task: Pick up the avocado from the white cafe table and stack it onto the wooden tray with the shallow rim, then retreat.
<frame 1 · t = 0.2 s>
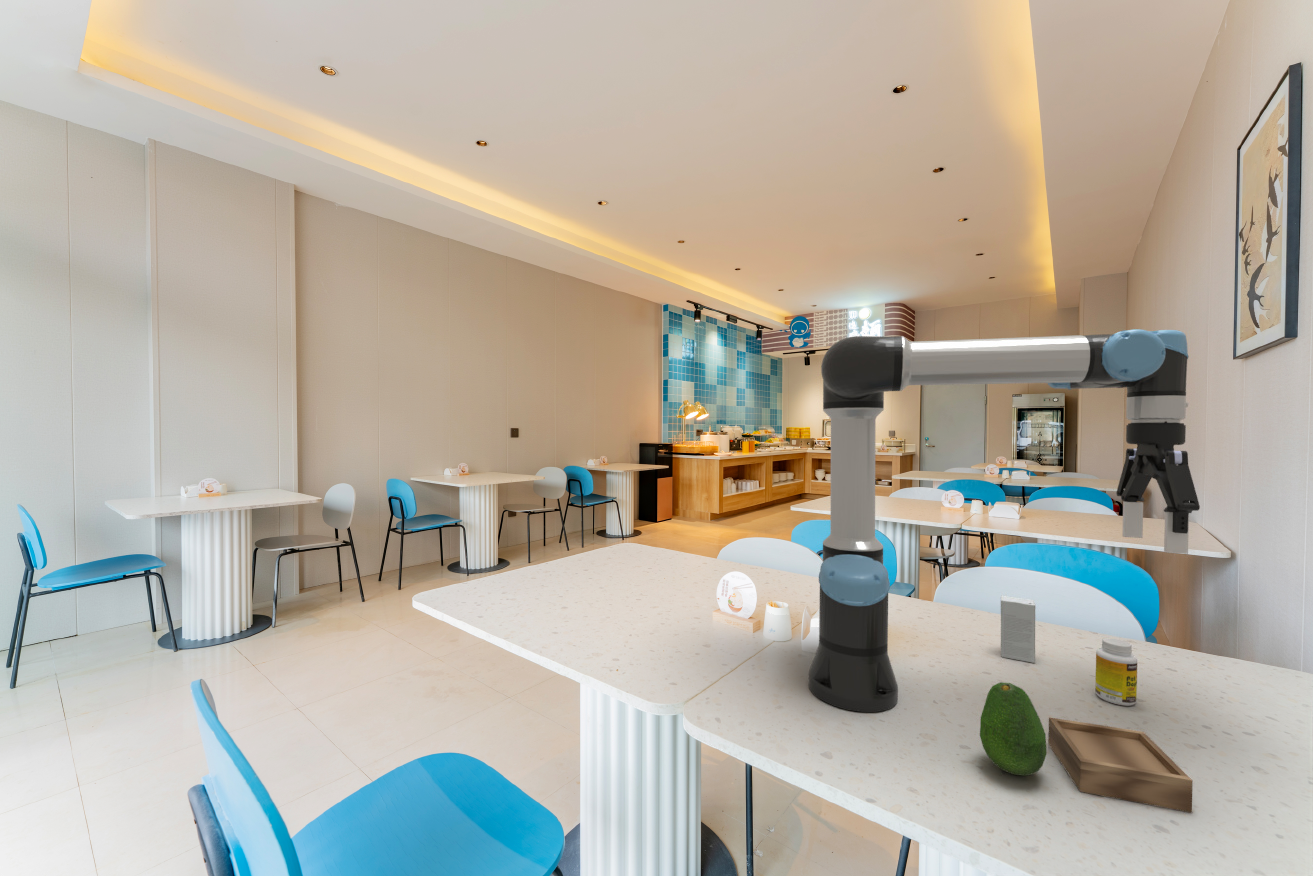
hand: (1152, 544, 93), 28 cm above the table, fingers open, 13 cm apart
wooden tray: (1113, 774, 74), on the table
supplement bottle: (1115, 700, 95), on the table
skincare box: (1016, 657, 113), on the table
avocado: (1011, 773, 74), on the table
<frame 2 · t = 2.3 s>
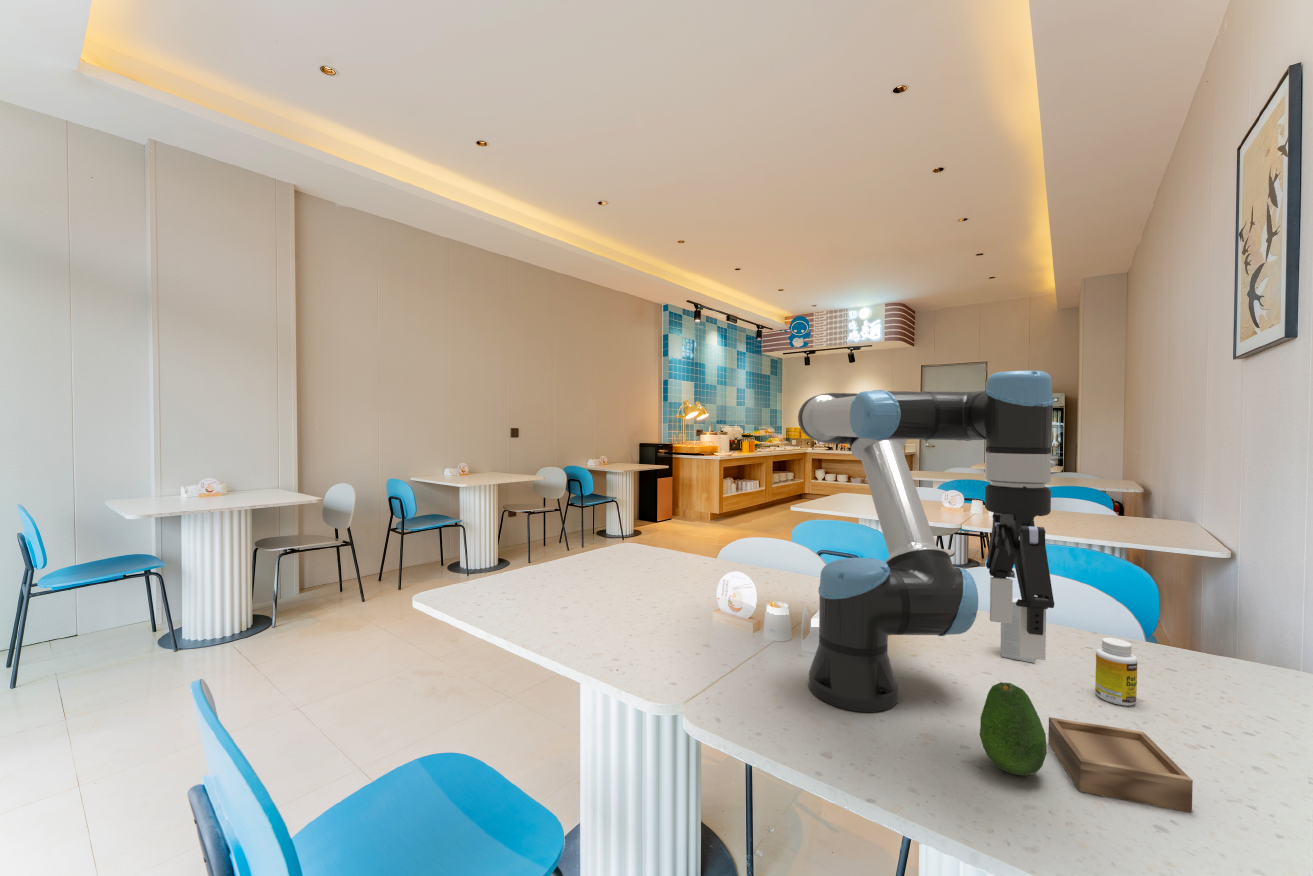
hand: (1014, 638, 74), 19 cm above the table, fingers open, 13 cm apart
nothing on the table moved.
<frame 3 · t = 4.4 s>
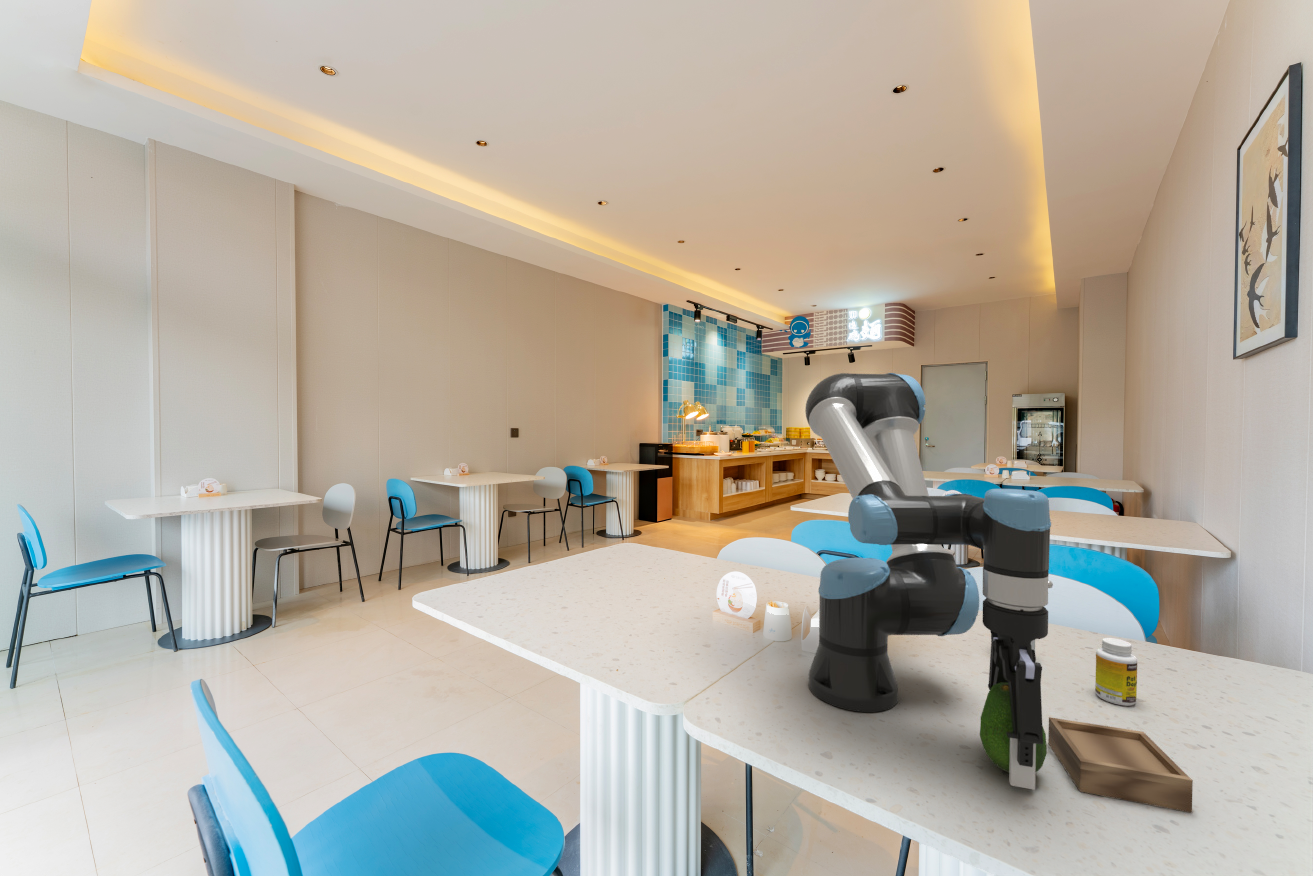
hand: (1012, 766, 74), 1 cm above the table, fingers closed on avocado, 8 cm apart
avocado: (1011, 773, 74), on the table, touching gripper
everything else where it was.
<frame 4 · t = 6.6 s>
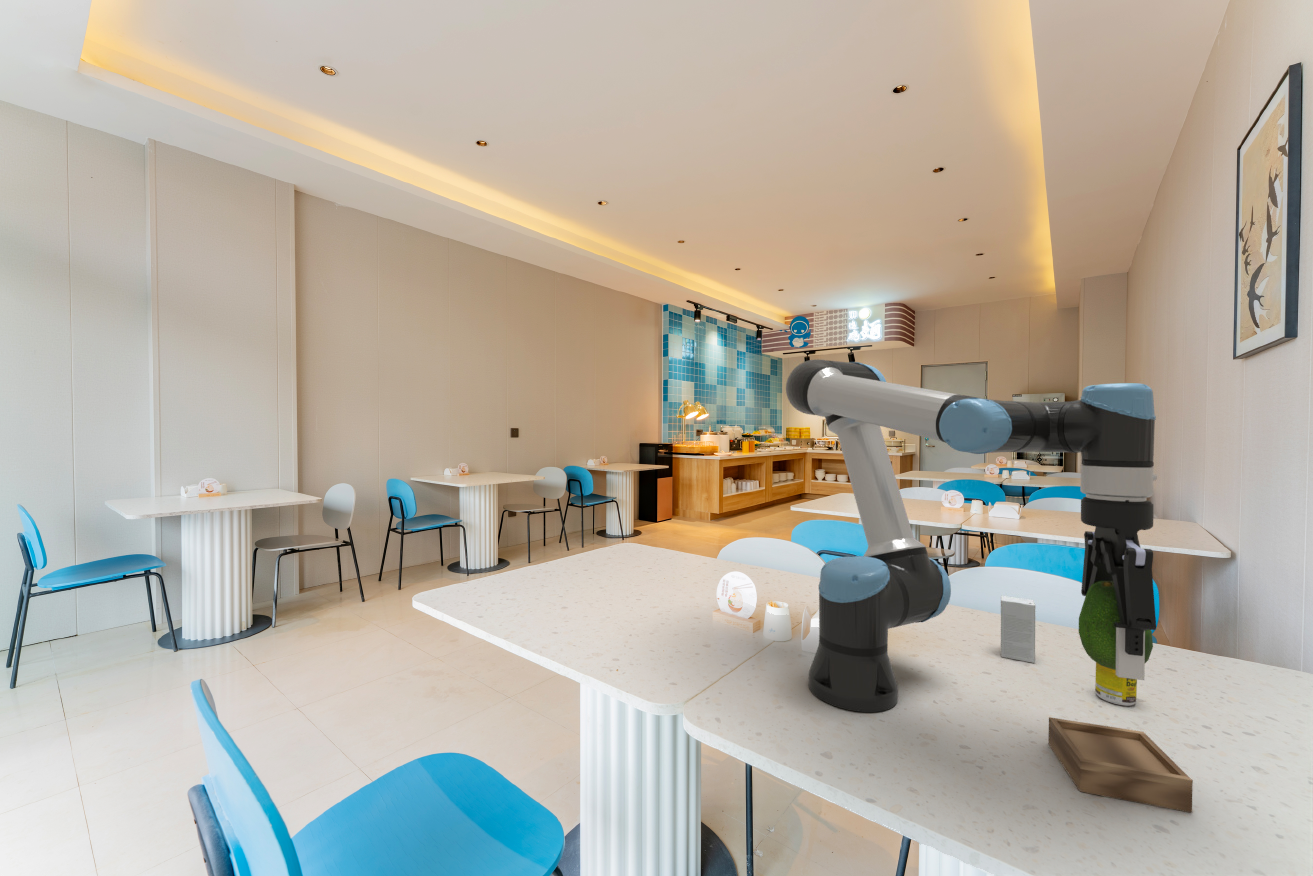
hand: (1114, 663, 73), 15 cm above the table, fingers closed on avocado, 8 cm apart
avocado: (1114, 670, 73), point 14 cm above the table, touching gripper
everything else where it was.
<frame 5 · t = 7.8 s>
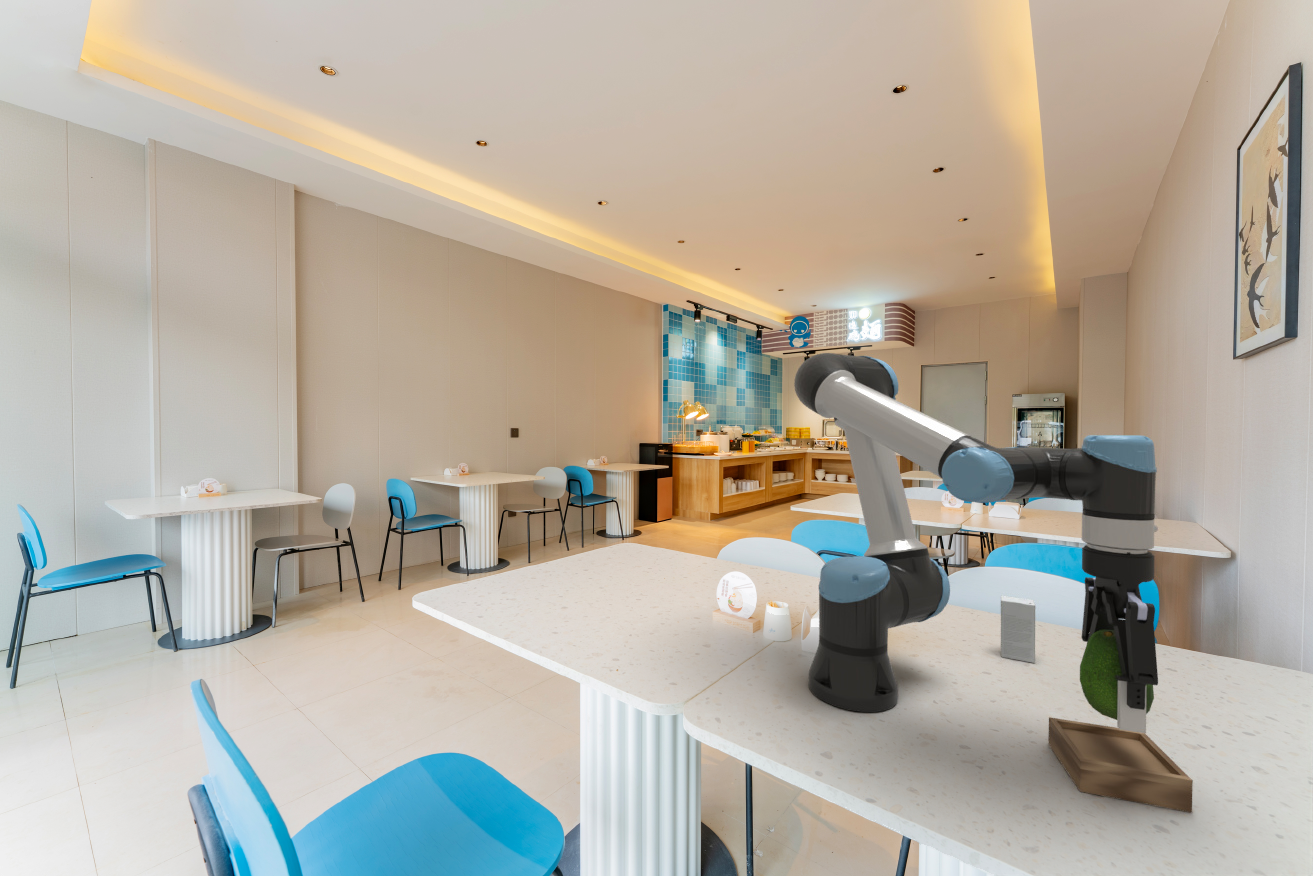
hand: (1115, 713, 74), 9 cm above the table, fingers closed on avocado, 8 cm apart
avocado: (1115, 720, 74), point 8 cm above the table, touching gripper
everything else where it was.
when the fingers open (6 cm above the table, at t = 8.8 s): avocado drops 2 cm, resting on wooden tray.
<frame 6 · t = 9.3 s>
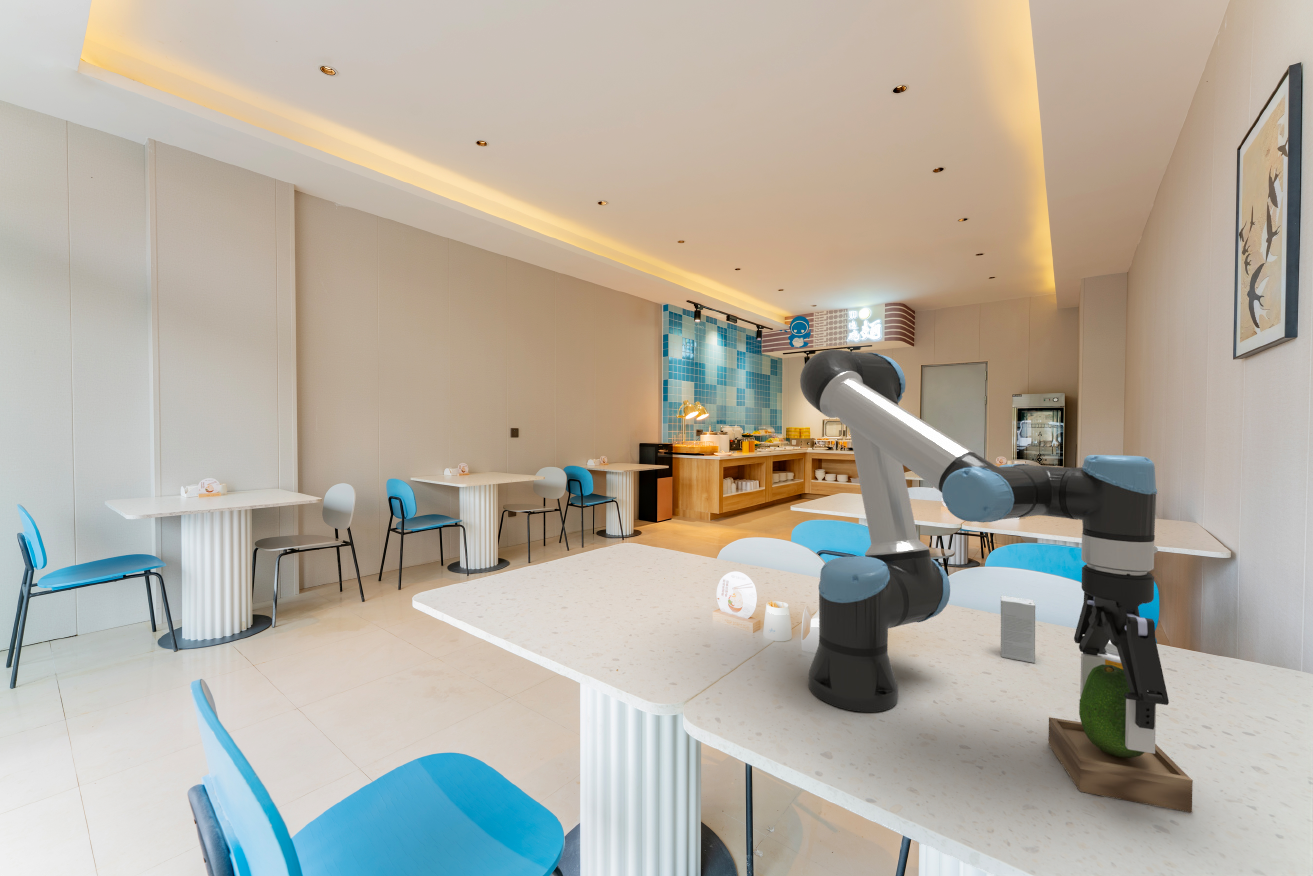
hand: (1114, 722, 74), 7 cm above the table, fingers open, 13 cm apart
avocado: (1114, 756, 73), point 3 cm above the table, touching wooden tray
everything else where it was.
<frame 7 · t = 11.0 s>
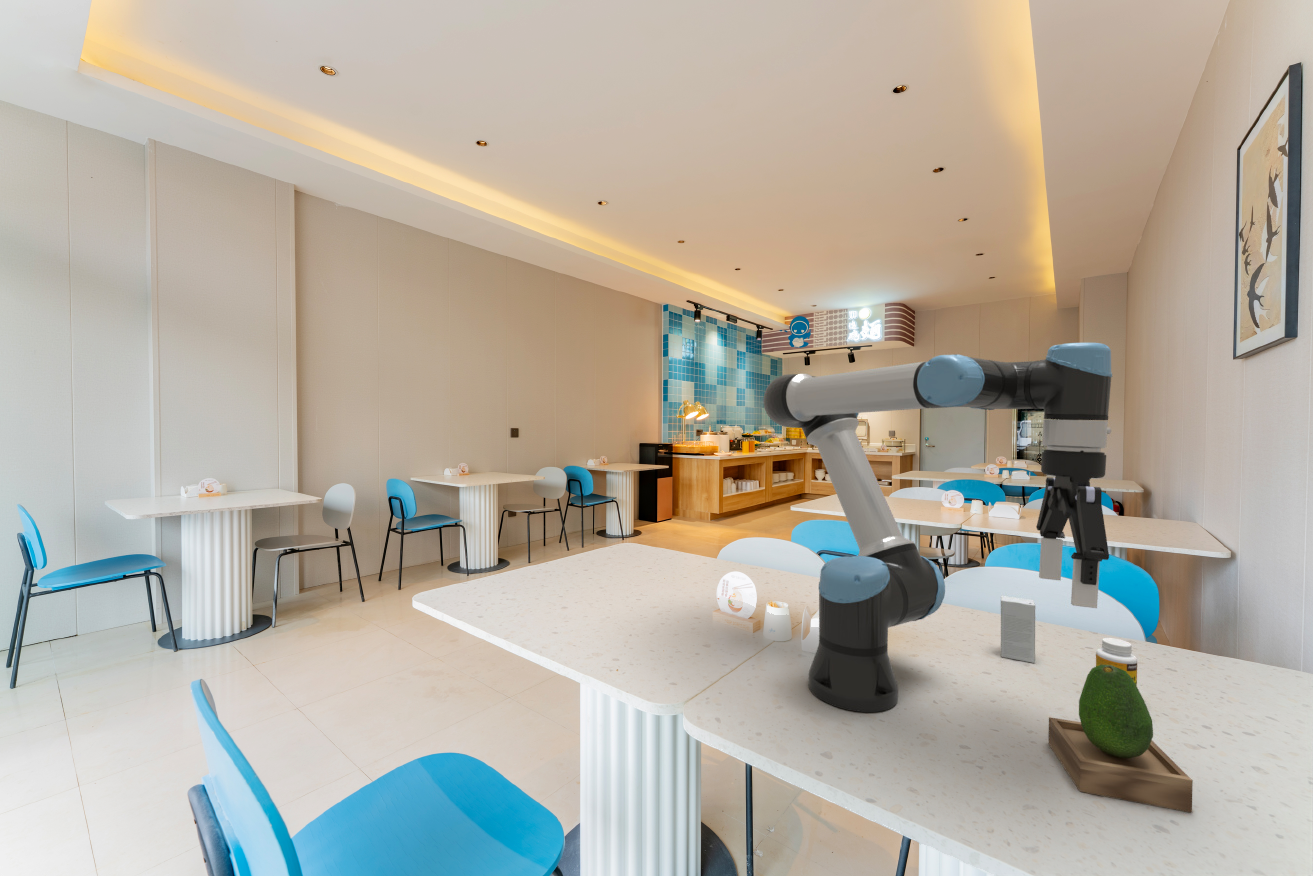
hand: (1065, 591, 80), 23 cm above the table, fingers open, 13 cm apart
nothing on the table moved.
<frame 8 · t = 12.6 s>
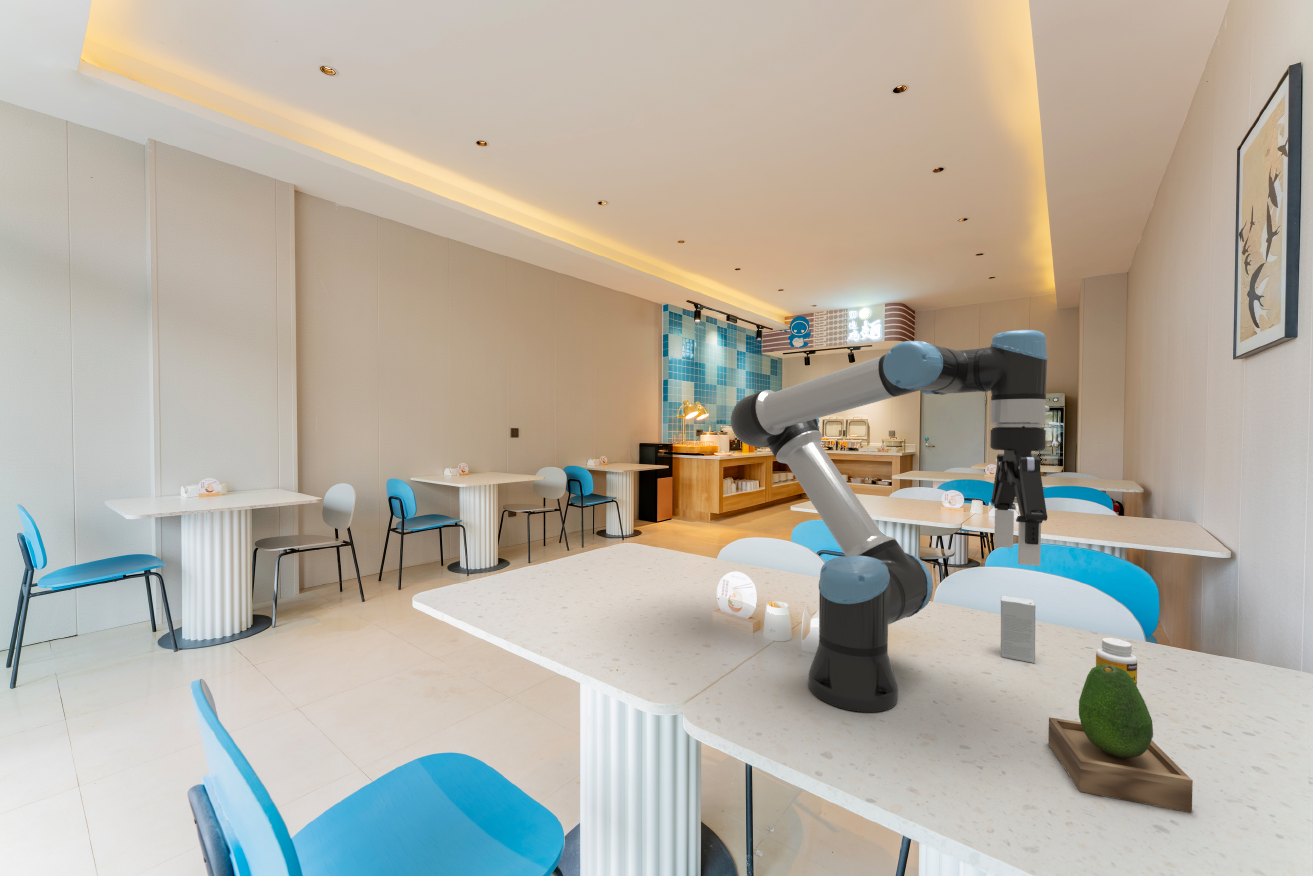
hand: (1015, 555, 89), 27 cm above the table, fingers open, 13 cm apart
nothing on the table moved.
at the end: avocado inside the target area on the wooden tray (0.5 cm from its centre), point 2.8 cm above the wooden tray's base; the gripper is holding nothing; avocado tilted 0° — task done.
